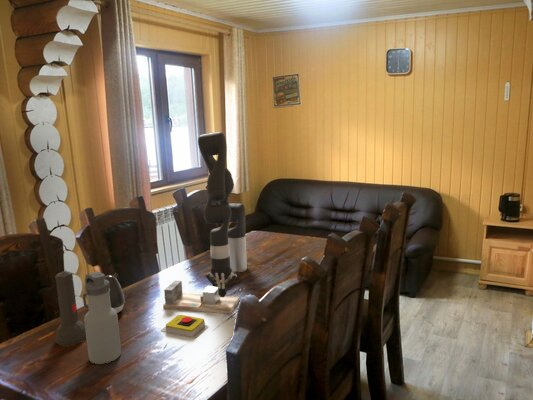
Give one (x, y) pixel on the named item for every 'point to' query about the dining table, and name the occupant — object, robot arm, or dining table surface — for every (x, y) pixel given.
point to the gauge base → (195, 301)
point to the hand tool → (235, 278)
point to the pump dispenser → (115, 293)
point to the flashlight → (68, 312)
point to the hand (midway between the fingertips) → (222, 296)
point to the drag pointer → (201, 300)
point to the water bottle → (100, 320)
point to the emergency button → (185, 326)
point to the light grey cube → (211, 295)
